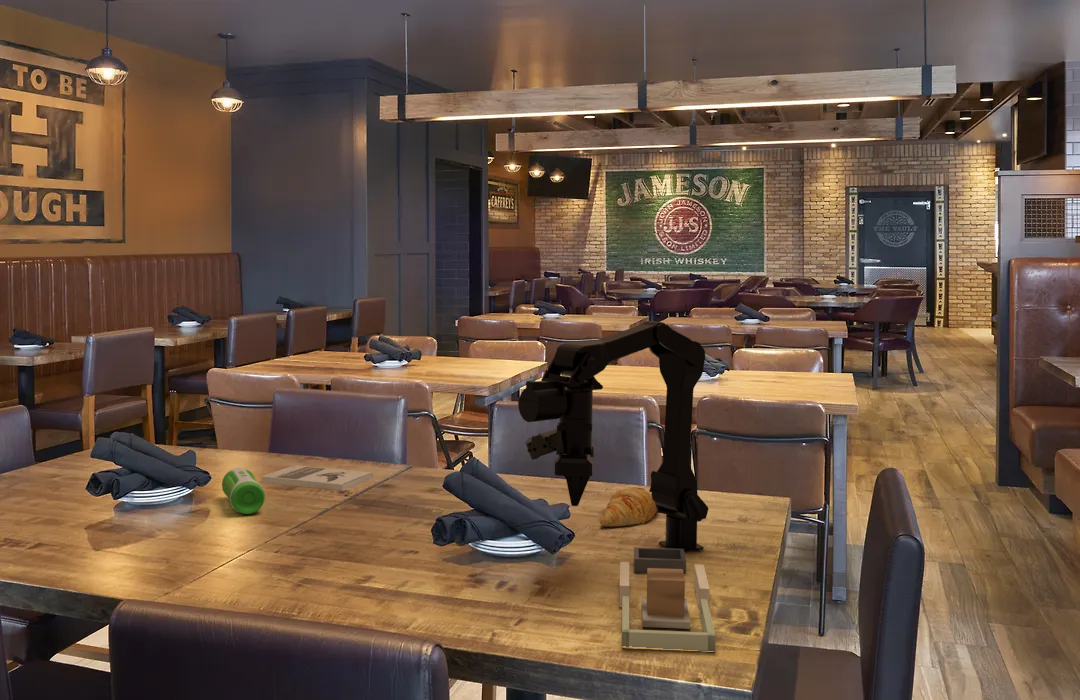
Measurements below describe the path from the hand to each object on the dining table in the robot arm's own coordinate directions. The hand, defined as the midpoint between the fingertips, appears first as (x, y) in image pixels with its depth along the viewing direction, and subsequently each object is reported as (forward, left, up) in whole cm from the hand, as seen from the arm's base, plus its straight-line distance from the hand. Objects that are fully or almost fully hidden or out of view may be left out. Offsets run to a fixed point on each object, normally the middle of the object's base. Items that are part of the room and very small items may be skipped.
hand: (574, 505), depth 169 cm
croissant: (+29, -25, -13) cm, 41 cm away
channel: (-16, -9, -12) cm, 22 cm away
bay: (-29, -2, -12) cm, 31 cm away
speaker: (+67, +50, -12) cm, 84 cm away
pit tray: (-2, -16, -12) cm, 20 cm away
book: (+87, +31, -13) cm, 93 cm away
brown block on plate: (-24, -5, -12) cm, 27 cm away
